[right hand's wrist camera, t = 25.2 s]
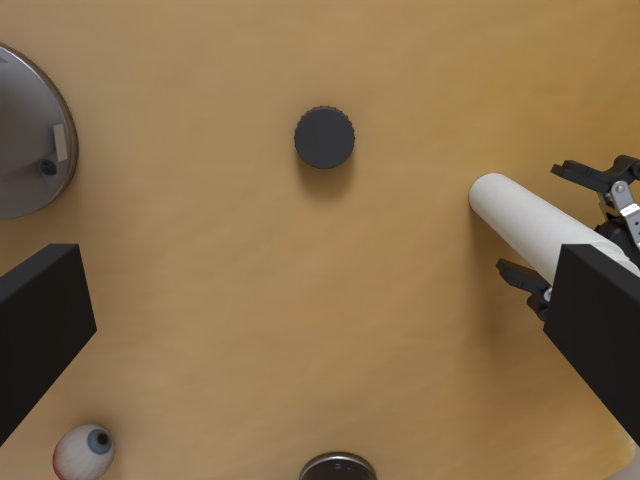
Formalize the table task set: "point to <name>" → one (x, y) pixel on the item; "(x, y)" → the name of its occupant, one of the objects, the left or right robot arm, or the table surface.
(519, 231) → the white cylinder
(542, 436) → the table surface
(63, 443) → the eyeball
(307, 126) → the lid
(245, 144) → the table surface
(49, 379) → the right robot arm
